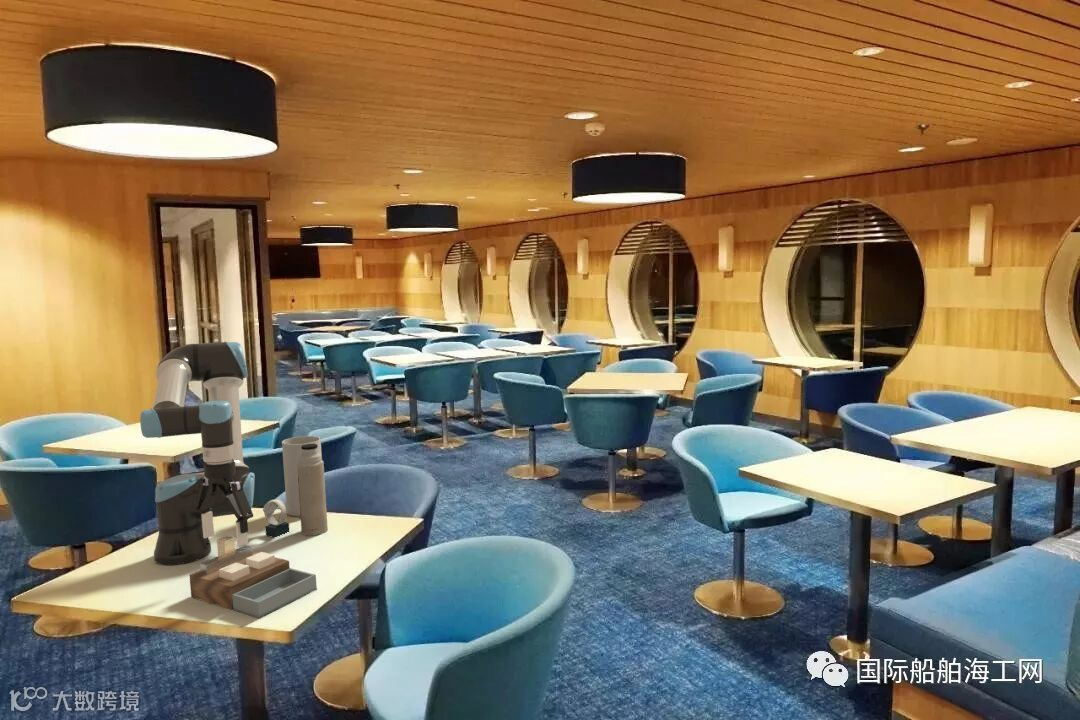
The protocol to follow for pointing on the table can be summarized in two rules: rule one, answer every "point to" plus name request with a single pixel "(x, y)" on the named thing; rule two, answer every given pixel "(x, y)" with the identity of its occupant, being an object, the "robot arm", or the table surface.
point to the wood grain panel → (231, 583)
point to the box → (274, 592)
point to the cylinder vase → (294, 469)
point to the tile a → (234, 571)
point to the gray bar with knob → (225, 555)
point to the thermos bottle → (312, 491)
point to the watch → (274, 527)
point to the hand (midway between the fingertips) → (225, 540)
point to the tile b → (260, 560)
